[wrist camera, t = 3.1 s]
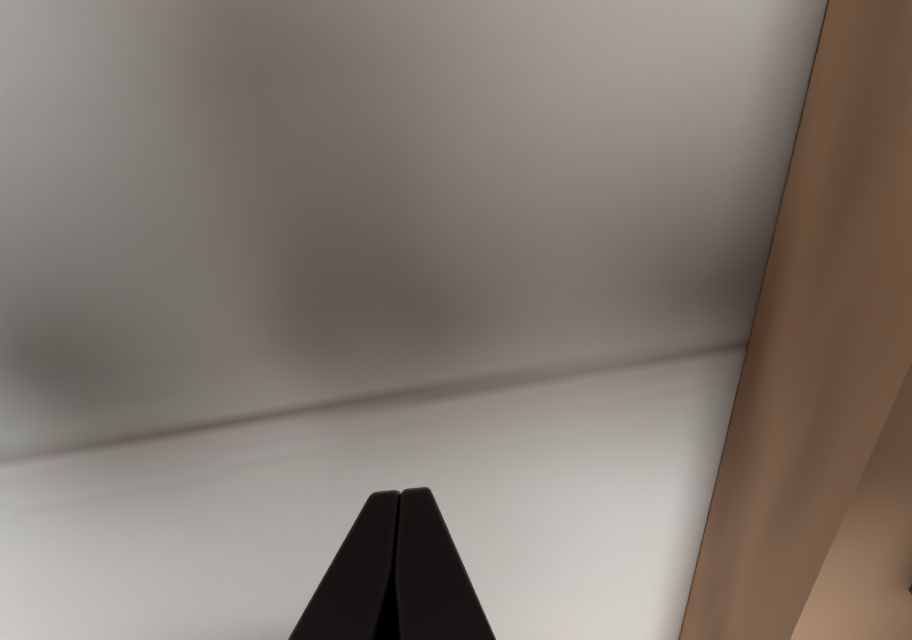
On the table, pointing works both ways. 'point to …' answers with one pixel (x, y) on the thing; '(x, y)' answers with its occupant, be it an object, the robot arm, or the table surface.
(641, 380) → the table surface
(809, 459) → the wooden box
